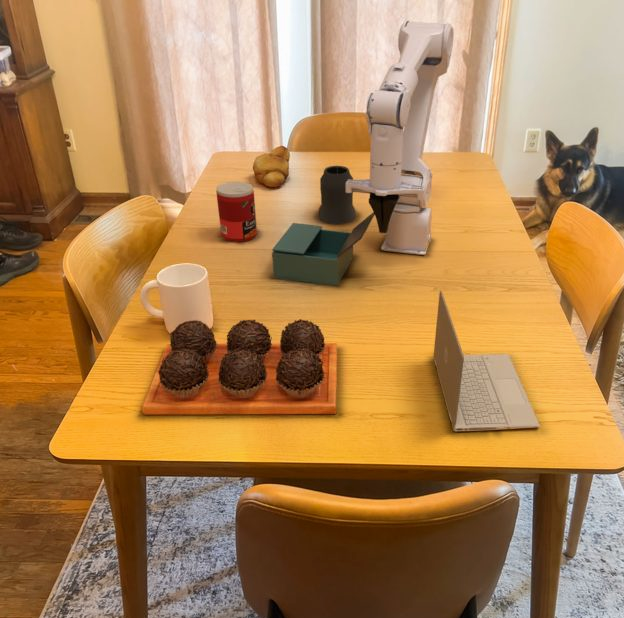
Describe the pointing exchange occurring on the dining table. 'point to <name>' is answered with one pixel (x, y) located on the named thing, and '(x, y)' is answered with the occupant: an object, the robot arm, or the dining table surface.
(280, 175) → the bread roll
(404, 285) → the dining table surface
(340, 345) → the dining table surface
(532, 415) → the laptop
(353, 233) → the lid
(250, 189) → the canned food
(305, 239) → the storage box
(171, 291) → the mug
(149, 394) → the truffle serving tray
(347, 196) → the mug
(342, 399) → the dining table surface
